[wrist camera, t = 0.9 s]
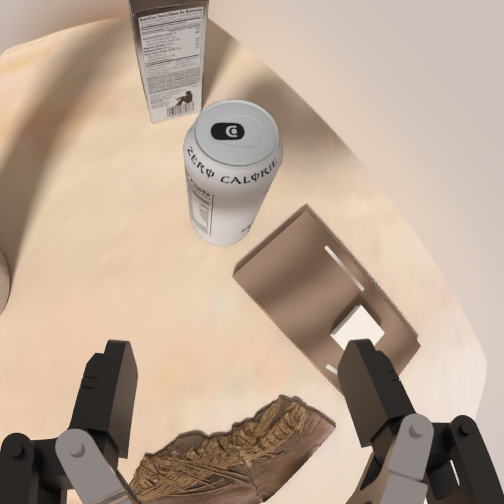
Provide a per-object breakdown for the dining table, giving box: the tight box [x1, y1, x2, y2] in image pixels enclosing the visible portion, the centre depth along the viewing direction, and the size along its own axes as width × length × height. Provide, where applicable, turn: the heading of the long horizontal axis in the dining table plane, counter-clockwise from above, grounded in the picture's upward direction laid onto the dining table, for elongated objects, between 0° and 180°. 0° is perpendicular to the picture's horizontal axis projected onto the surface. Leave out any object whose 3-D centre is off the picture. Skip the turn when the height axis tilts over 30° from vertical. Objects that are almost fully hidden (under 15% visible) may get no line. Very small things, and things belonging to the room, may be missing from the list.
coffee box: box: [129, 0, 209, 123], centre depth 26 cm, size 9×6×16 cm
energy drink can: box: [183, 99, 283, 246], centre depth 23 cm, size 6×6×15 cm
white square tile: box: [330, 305, 384, 351], centre depth 28 cm, size 4×4×1 cm
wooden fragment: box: [129, 397, 336, 504], centre depth 24 cm, size 26×11×1 cm, turn 113°
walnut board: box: [232, 210, 421, 396], centre depth 29 cm, size 20×10×1 cm, turn 42°
